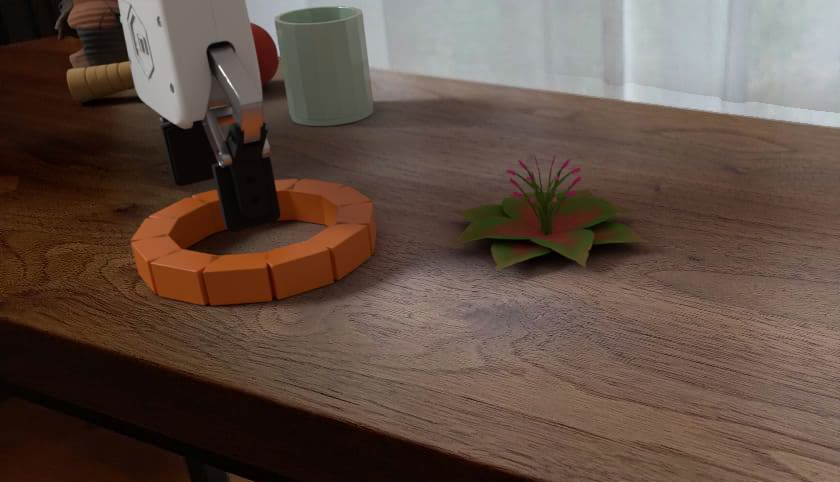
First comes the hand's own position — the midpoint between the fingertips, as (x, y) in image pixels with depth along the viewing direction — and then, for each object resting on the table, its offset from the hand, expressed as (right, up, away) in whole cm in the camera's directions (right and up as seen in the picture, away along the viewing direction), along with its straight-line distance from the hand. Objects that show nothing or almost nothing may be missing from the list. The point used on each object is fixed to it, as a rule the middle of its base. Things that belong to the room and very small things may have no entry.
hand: (225, 201), depth 61 cm
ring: (+3, -3, -3) cm, 6 cm away
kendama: (-13, +12, +28) cm, 33 cm away
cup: (+2, +10, +21) cm, 23 cm away
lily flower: (+20, -3, -3) cm, 20 cm away
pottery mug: (-23, +18, +39) cm, 49 cm away
